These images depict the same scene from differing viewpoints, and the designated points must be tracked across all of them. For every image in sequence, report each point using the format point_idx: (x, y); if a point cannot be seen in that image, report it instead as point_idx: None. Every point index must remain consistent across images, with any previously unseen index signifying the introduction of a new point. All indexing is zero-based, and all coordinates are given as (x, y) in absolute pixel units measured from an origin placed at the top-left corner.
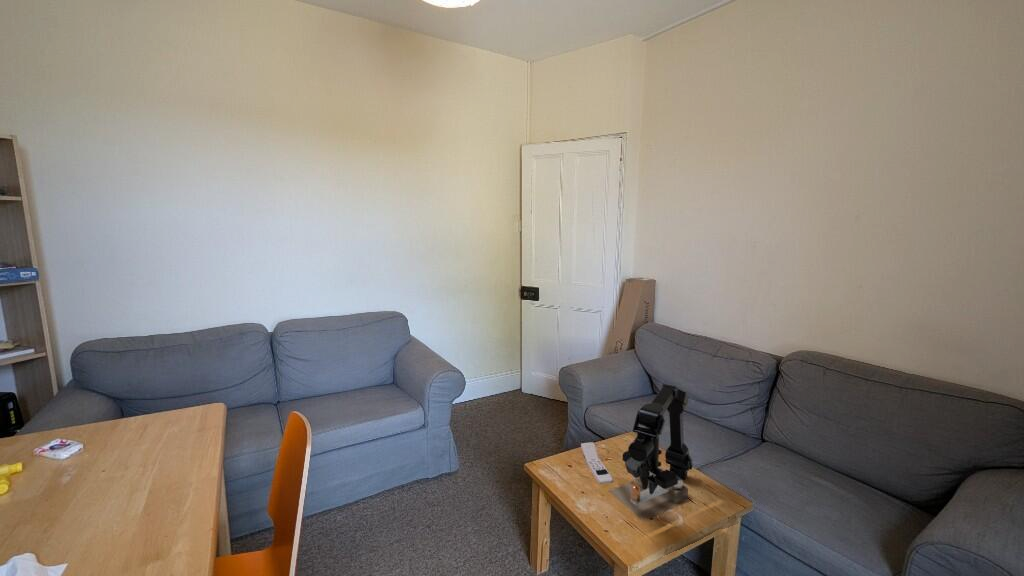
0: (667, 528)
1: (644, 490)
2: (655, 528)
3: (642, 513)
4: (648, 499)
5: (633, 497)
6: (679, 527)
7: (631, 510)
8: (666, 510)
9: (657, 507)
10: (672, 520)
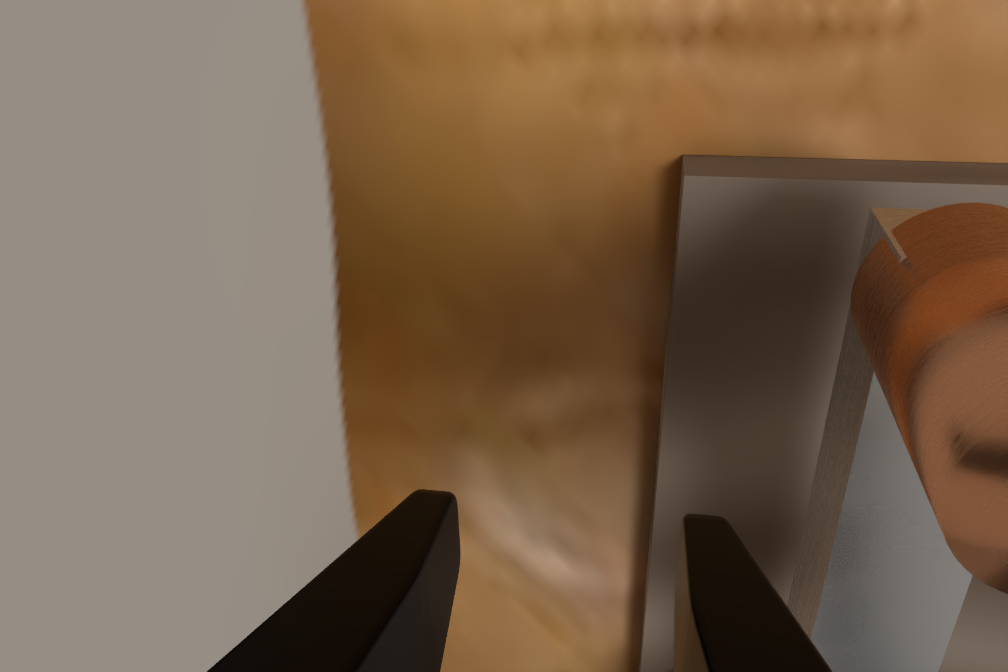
0: (487, 347)
1: (960, 578)
2: (556, 236)
3: (805, 274)
4: (814, 483)
5: (973, 247)
6: (441, 451)
7: (967, 186)
8: (654, 532)
9: (755, 499)
10: (552, 476)
